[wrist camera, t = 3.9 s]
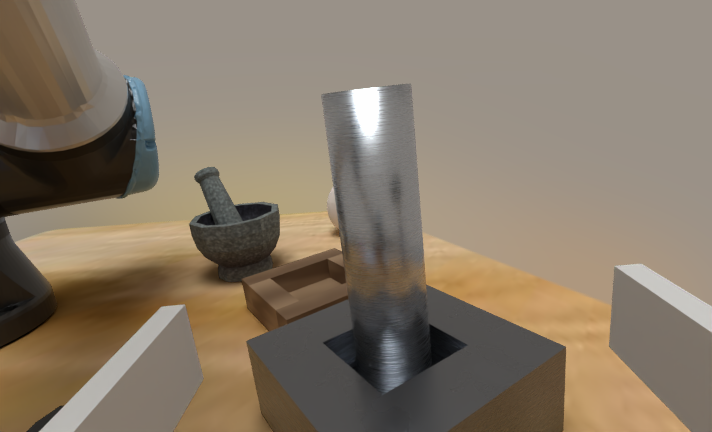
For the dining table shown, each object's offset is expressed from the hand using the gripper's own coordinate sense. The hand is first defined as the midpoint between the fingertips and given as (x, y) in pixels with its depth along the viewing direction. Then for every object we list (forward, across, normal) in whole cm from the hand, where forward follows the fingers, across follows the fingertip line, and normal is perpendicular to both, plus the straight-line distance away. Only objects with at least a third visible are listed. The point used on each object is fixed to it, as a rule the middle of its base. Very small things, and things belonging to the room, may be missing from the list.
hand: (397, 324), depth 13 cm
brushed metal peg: (+8, 0, -9) cm, 12 cm away
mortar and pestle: (+33, -17, -11) cm, 38 cm away
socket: (+8, 0, -11) cm, 13 cm away
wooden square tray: (+22, -6, -11) cm, 25 cm away
